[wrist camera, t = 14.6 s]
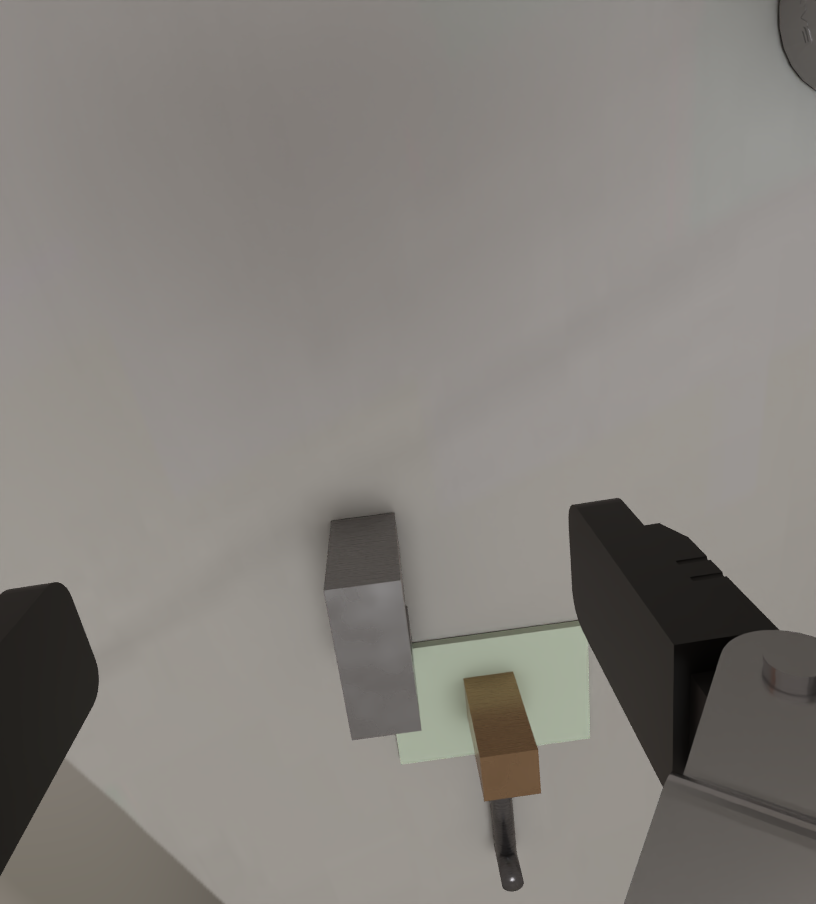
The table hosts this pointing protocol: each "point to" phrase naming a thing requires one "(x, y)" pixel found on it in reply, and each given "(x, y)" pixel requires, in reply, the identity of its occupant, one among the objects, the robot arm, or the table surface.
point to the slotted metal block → (371, 627)
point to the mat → (519, 650)
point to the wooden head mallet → (502, 759)
